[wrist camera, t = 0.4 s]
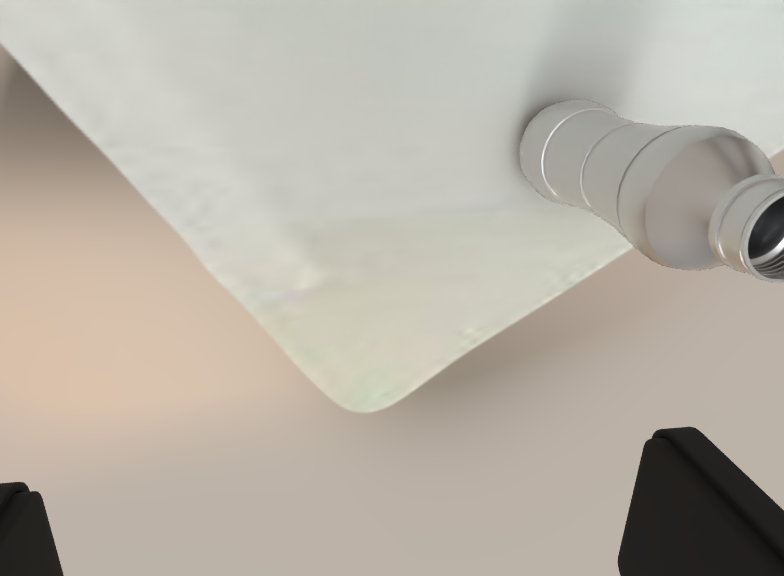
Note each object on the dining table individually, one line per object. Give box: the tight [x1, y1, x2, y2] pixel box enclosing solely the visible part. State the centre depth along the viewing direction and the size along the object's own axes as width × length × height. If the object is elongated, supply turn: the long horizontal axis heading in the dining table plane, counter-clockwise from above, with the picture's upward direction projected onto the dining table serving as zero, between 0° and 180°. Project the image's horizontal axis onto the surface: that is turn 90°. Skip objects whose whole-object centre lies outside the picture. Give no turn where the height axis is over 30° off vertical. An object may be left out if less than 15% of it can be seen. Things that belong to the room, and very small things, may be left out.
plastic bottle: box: [519, 99, 784, 282], centre depth 29 cm, size 6×7×20 cm
